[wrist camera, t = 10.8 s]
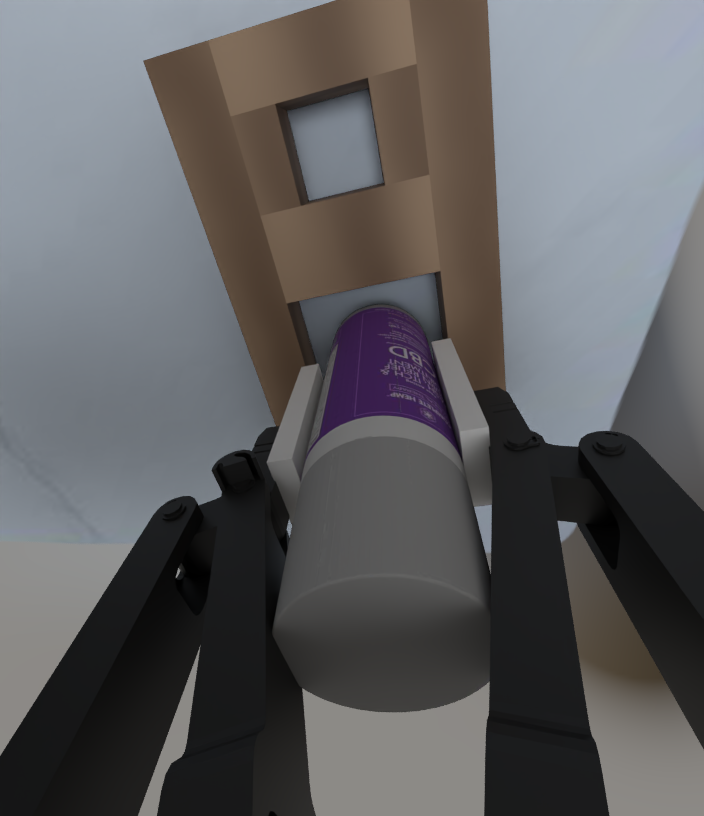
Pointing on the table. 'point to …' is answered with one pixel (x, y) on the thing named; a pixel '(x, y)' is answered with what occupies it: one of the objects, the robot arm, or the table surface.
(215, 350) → the table surface
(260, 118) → the socket board
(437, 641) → the container
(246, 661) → the robot arm
